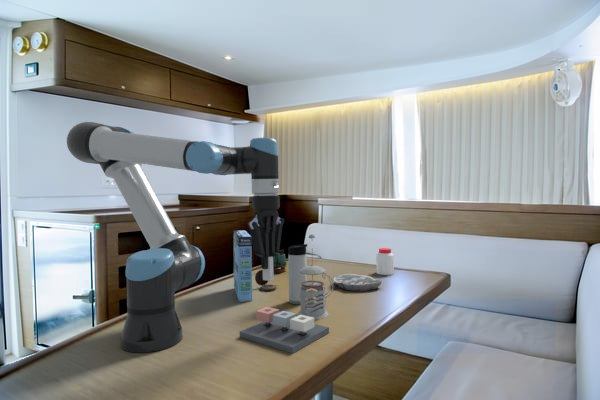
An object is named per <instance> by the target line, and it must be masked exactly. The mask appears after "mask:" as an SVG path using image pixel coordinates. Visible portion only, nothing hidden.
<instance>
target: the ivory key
mask: <svg viewBox="0 0 600 400" xmlns="http://www.w3.org/2000/svg"><path fill="white" fill-rule="evenodd" d="M314 324H315V319H314V318H313V317H309V316H305V315H299V316H298V315H296V317H294V318H292V319H290V329H294V330H298V331H300V334H301V335H304V334H305V332H306V331H308V330H309V329H311V328H313V327H315V326H314Z"/></svg>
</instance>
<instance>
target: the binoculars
mask: <svg viewBox="0 0 600 400" xmlns="http://www.w3.org/2000/svg"><path fill="white" fill-rule="evenodd" d="M284 252H285V251H284V249H281V250H280V249H279V252H278V253H276V254H277V256H274V267H273V272H274V274H280V273H282V272H283V273H284V272H287V269H286V267H287V260H286V258H287V257H286V254H285V253H284Z"/></svg>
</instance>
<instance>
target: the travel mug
mask: <svg viewBox="0 0 600 400" xmlns="http://www.w3.org/2000/svg"><path fill="white" fill-rule="evenodd" d="M307 247H308V244H307V243H305V244H296V245H295V244H294V245H290V246H289V247H288V248H287V249H288V254H287V255H288V258H287V259H288V260H287V262H288V302H289V303H290V304H292V305H301V300H300V288H301V287H303V286H302V285H301V283H302V282H304V281H308V277H307V276H308V275H306V274H302V273H300V271H299V270H300V269H302V268H303V267H306V266H308V265H307ZM306 291H308V289H307V290H306ZM305 300H307V298H306V299H305Z"/></svg>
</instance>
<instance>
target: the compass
mask: <svg viewBox="0 0 600 400" xmlns="http://www.w3.org/2000/svg"><path fill="white" fill-rule="evenodd" d="M254 276H255V277H254V280H255V283H256V284H257V285H258V286H260V287H259V290H260V291H262V292H273V291H275V290H276V289H277V288H276V287H279V285H278V284H274V285H273V284H268V283H269V281H266V280H263V269H260V270H258V271H257V272H256V274H255V275H254Z"/></svg>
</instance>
